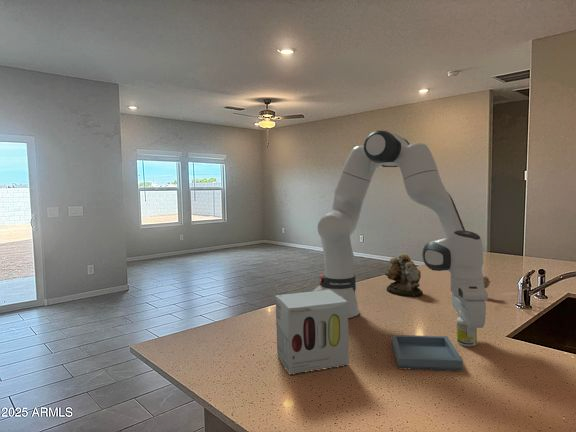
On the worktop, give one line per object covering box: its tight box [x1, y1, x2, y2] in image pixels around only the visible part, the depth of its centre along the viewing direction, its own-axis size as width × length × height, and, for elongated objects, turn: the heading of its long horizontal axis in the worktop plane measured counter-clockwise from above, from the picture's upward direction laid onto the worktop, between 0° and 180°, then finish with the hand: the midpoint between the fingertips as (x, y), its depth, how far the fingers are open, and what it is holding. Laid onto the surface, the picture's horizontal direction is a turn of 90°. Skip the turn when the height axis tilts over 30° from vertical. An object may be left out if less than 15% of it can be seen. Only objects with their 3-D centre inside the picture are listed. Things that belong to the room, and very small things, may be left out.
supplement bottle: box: [456, 311, 478, 347], centre depth 116 cm, size 5×5×10 cm
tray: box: [391, 334, 464, 372], centre depth 109 cm, size 16×16×3 cm
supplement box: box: [275, 289, 350, 375], centre depth 108 cm, size 17×13×18 cm
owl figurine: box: [384, 253, 424, 298], centre depth 172 cm, size 18×12×17 cm, turn 39°
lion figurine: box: [483, 275, 491, 289], centre depth 164 cm, size 15×5×9 cm, turn 35°
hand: (466, 331), depth 116 cm, fingers closed on supplement bottle, 5 cm apart
